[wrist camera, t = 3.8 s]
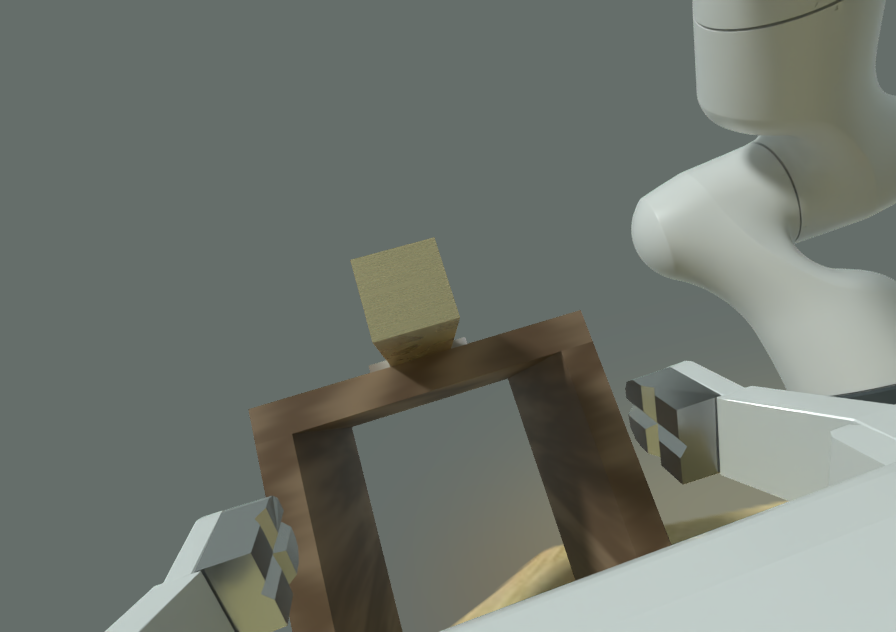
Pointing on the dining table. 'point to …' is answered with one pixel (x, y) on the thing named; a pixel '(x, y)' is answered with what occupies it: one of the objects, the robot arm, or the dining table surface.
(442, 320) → the bar
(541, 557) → the dining table surface
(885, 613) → the robot arm
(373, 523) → the stand
